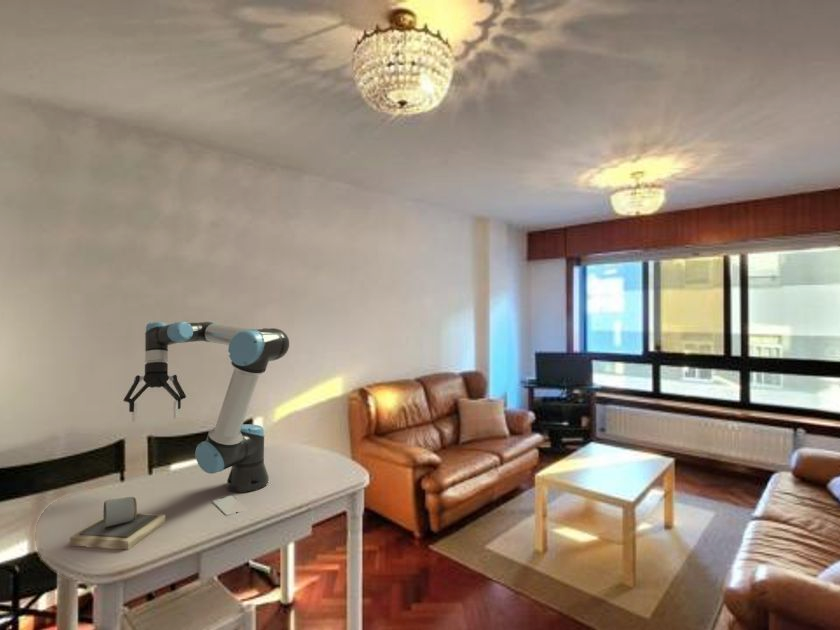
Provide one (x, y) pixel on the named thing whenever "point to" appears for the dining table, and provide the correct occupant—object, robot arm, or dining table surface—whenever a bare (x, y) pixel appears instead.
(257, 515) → the dining table surface
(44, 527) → the dining table surface
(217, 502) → the smartphone
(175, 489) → the dining table surface
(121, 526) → the wooden picture frame
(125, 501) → the ceramic mug
